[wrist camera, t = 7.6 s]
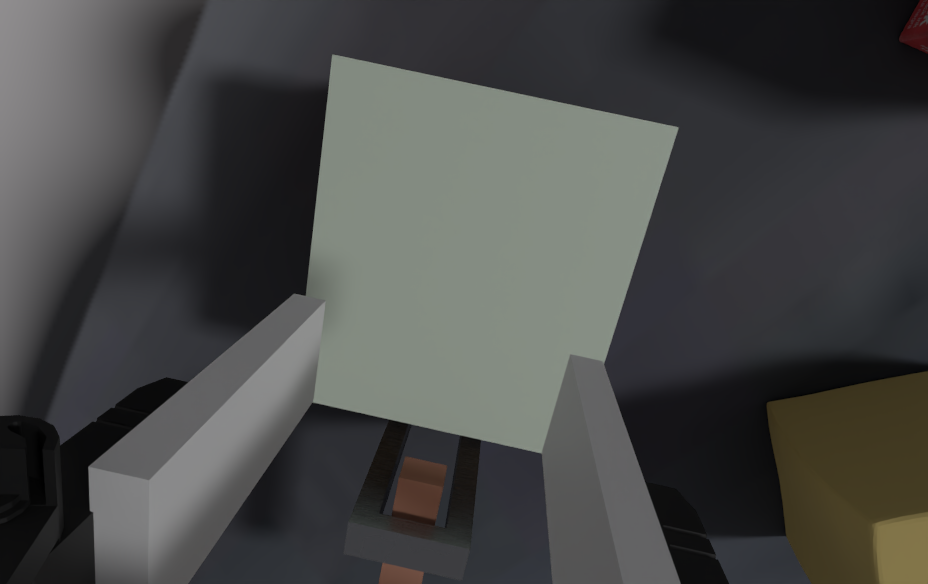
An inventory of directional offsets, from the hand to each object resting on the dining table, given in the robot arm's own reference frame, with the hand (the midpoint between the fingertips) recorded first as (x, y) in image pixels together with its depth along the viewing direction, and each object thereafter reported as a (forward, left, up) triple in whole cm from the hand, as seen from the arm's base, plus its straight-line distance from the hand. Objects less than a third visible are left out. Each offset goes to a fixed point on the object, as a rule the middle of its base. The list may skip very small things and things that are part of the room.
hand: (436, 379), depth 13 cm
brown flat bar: (+14, 0, -8) cm, 16 cm away
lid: (0, 0, -11) cm, 11 cm away
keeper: (+11, 0, -17) cm, 20 cm away
